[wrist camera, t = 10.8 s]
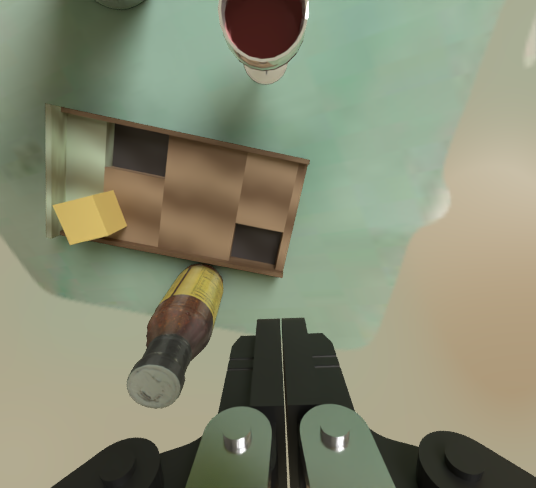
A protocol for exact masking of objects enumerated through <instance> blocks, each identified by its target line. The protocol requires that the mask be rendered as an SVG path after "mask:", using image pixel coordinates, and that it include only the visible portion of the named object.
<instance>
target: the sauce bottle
mask: <svg viewBox="0 0 536 488" xmlns="http://www.w3.org/2000/svg"><path fill="white" fill-rule="evenodd" d="M222 294H223V280H222V277H221V276H220V274H219V273H218V272H217V271H216V270H215V269H214V268H213V267H212V266H210V265H207V264H194V265H190V266H189V267H187V268H186V269H185V270H184V271H183V272H182V273H180V275H179V276H178V277H177V279H176V280H175V282H174V283H173V285H172V286H171V288H170V289H169V291H168V292H167V294H166V295H165V296H164V298H163V299H162V301H161V302H160V304H159V305H158V307H157V308H156V310H155V313H154V315H153V316H152V317H151V319H150V321H149V323H148V326H147V330H148V331H147V335H146V337H147V344H146V346H147V349H146V352H145V354H144V355H143V357H142V359H141V360H139V361H138V362H137V363H136V364H135V366H134V367H133V369H132V371H131V373H130V375H129V377H128V380H127V389H128V392H129V395H130V396H131V397H132V399H133V400H134V401H136V402H137V403H138V404H141V405H142V406H145V407H150V408H164V407H167V406H169V405H171V404H172V403H173V402H174V401H175V400H176V399H177V398H178V397H179V395H180V393H181V390H182V388H183V385H184V381H185V376H184V375H185V372H186V369H187V366H188V365H189V363H190V361H191V360H192V359H193V358H194V357H196V356H197V355H198V354H199V353H200V352H201V351H202V350H203V349H204V348H205V347H206V345H207V344H208V342H209V340H210V337H211V335H212V331H213V327H214V323H215V319H216V316H217V312H218V309H219V305H220V302H221V298H222Z"/></svg>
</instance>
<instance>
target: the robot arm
mask: <svg viewBox="0 0 536 488" xmlns="http://www.w3.org/2000/svg"><path fill="white" fill-rule="evenodd" d="M95 1H97V2H98V3H100V4H101V5H103V6H106V7H109V8H113V9H127V8H131V7H134V6H136V5H138V4H139V3H141V2H142V1H143V0H95ZM282 343H283V369H284V386H285V387H284V388H285V405H286V422H287V440H288V457H289V475H290V488H536V477H534V476H533V475H531V474H529V473H528V472H526V471H525V470H523V469H521V468H520V467H518V466H516V465H515V464H513V463H511V462H510V461H508V460H506V459H505V458H503V457H501V456H500V455H498V454H497V453H495V452H493V451H492V450H490V449H488V448H486V447H485V446H484V445H482V444H480V443H478V442H477V441H475V440H473V439H471V438H469V437H467V436H464V435H462V434H458V433H455V432H450V431H436V432H432V433H430V434H428V435H426V436H425V437H424V438H423V439H422V441H421V442H420V445H419V447H417V446H413V445H409V444H406V443H402V442H398V441H394V440H391V439H388V438H385V437H383V436H381V435H379V434H377V433H375V432H373V431H372V430H370V429H369V427H368V426H367V424H366V422H365V421H364V420H363V419H362V418H361V417H360V416H359V415H358V414H357V413H356V412H355V410H354V407H353V404H352V401H351V398H350V396H349V392H348V389H347V386H346V383H345V380H344V377H343V374H342V371H341V368H340V366H339V362H338V359H337V357H336V353H335V350H334V347H333V344H332V342H331V341H330V340H329V339H328V338H327V337H326V336H325V335H324V334H323V333H313V334H308V333H307V328H306V323H305V319H304V318H282ZM285 442H286V441H285V414H284V391H283V372H282V353H281V334H280V319H257V327H256V336H240V338H239V339H238V340H237V341H236V342H235V343H234V345H233V346H232V349H231V354H230V361H229V364H228V371H227V374H226V378H225V383H224V388H223V392H222V397H221V402H220V407H219V412H218V414H217V415H216V416H215V417H214V418H212V420H211V421H210V422H209V423H208V425H207V426H206V428H205V430H204V433H203V436H201V437H200V438H199V439H197V440H196V441H193V442H192V443H190V444H187V445H184V446H182V447H179V448H176V449H173V450H170V451H166V452H163V453H160V454H159V451H158V448H157V447H156V446H155V444H154V443H152V442H151V441H149V440H147V439H144V438H128V439H125V440H121V441H119V442H116V443H114V444H112V445H110V446H108V447H107V448H105V449H104V450H102V451H101V452H99V453H98V454H97V455H95V456H94V457H92V458H91V459H90V460H88V461H87V462H86V463H84V464H83V465H81V466H80V467H79V468H77V469H76V470H75V471H73V472H72V473H70V474H69V475H68V476H66V477H65V478H63V479H62V480H61V481H60V482H58V483H57V484H55V485H54V486H53V487H51V488H287V467H286V443H285Z"/></svg>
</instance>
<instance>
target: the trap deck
mask: <svg viewBox="0 0 536 488" xmlns="http://www.w3.org/2000/svg"><path fill="white" fill-rule="evenodd" d="M45 138H46V237H47V238H54V237H56V236H59V235H62V236H66V235H65V232H64V230H63V228H62V226H61V223H60V221H59V219H58V217H57V214H56V212H55V210H54V208H53V206H52V205H55V204H59V203H63V202H67V201H71V200H75V199H79V198H83V197H87V196H91V195H95V194H99V193H104V192H108V191H112V190H114V193H115V196H116V198H117V201H118V204H119V206H120V209H121V211H122V214H123V217H124V219H125V222H126V224H127V227H125V228H123V229H121V230H119V231H117V232H115V233H113V234H111V235H109V236H105V237H101V238H97V239H93V240H89V241H93V242H98V243H104V244H109V245H114V246H119V247H124V248H130V249H135V250H140V251H145V252H150V253H156V254H161V255H166V256H171V257H176V258H182V259H187V260H192V261H197V262H202V263H208V264H213V265H218V266H223V267H228V268H233V269H239V270H244V271H249V272H254V273H259V274H265V275H270V276H275V277H280V278H282V277H283V268H284V264H285V260H286V255H287V251H288V247H289V243H290V238H291V234H292V230H293V225H294V221H295V217H296V213H297V208H298V204H299V200H300V196H301V191H302V187H303V183H304V178H305V174H306V170H307V166H308V164H309V162H310V160H307V159H303V158H298V157H293V156H289V155H284V154H279V153H275V152H270V151H265V150H261V149H256V148H251V147H247V146H242V145H237V144H233V143H228V142H223V141H219V140H214V139H209V138H204V137H200V136H195V135H190V134H186V133H181V132H176V131H172V130H167V129H162V128H158V127H153V126H148V125H144V124H139V123H134V122H130V121H125V120H120V119H116V118H111V117H106V116H101V115H97V114H92V113H87V112H83V111H78V110H73V109H69V108H64V107H59V106H55V105H50V104H46V103H45Z"/></svg>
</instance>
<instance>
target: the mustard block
mask: <svg viewBox="0 0 536 488" xmlns="http://www.w3.org/2000/svg"><path fill="white" fill-rule="evenodd" d="M52 206H53V208H54V210H55V212H56V214H57V217H58V219H59V221H60V223H61V226H62V228H63V230H64V232H65V235H66V237H67V239H68V241H69V244H70V245H72V244H76V243H80V242H84V241H89V240H93V239H97V238H101V237H105V236H109V235H111V234H113V233H115V232H117V231H119V230H121V229H123V228H125V227H127V224H126V222H125V219H124V217H123V214H122V211H121V209H120V206H119V204H118V201H117V198H116V196H115V193H114V190H112V191H108V192H104V193H99V194H95V195H91V196H87V197H83V198H79V199H75V200H71V201H67V202H63V203H59V204H55V205H52Z"/></svg>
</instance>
